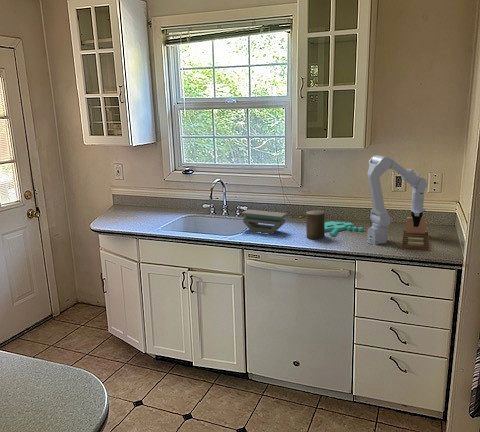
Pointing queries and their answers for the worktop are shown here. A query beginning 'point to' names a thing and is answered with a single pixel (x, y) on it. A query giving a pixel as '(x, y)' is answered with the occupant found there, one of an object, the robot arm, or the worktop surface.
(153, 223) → the worktop surface
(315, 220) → the pillar candle
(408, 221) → the salmon rectangular slab
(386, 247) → the worktop surface
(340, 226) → the teal pixel toy sword
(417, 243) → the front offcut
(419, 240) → the offcut
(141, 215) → the worktop surface
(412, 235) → the rack
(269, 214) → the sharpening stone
